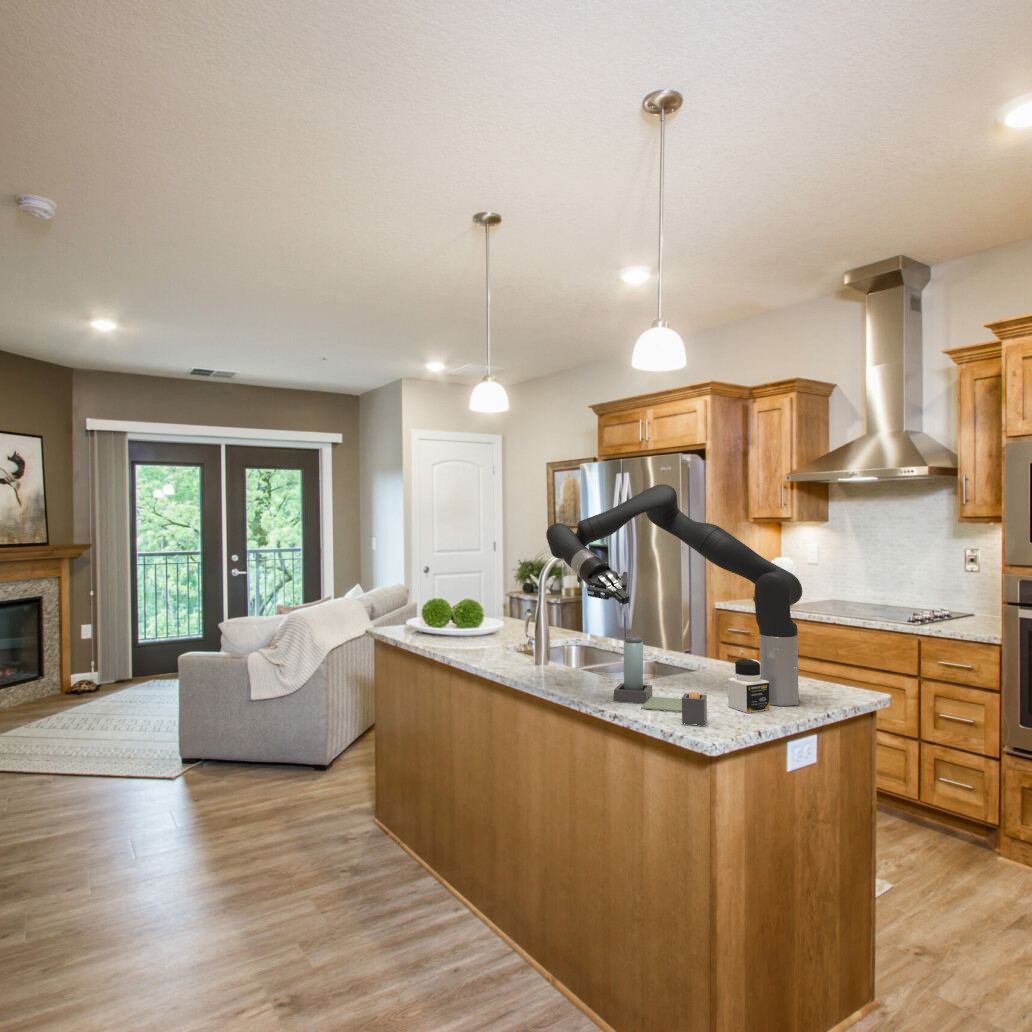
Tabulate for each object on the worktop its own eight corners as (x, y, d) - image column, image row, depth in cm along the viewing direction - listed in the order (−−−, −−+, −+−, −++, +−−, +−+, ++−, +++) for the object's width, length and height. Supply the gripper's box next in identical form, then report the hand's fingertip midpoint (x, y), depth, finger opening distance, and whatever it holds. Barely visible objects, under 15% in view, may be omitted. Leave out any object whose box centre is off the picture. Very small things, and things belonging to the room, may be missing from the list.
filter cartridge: (644, 697, 194) (644, 637, 194) (641, 701, 189) (641, 640, 189) (625, 695, 195) (625, 636, 195) (622, 700, 191) (622, 638, 191)
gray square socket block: (707, 720, 170) (706, 694, 171) (704, 726, 166) (704, 699, 166) (685, 718, 172) (684, 693, 172) (682, 724, 168) (681, 698, 168)
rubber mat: (696, 701, 188) (696, 699, 188) (690, 713, 177) (690, 711, 177) (649, 698, 193) (649, 696, 193) (641, 709, 181) (641, 707, 181)
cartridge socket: (652, 696, 195) (652, 685, 195) (646, 704, 187) (646, 692, 187) (621, 694, 198) (620, 683, 198) (613, 701, 190) (613, 689, 190)
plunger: (700, 716, 170) (700, 692, 170) (699, 719, 167) (698, 694, 168) (690, 715, 171) (689, 691, 171) (688, 718, 168) (688, 694, 168)
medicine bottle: (747, 713, 176) (746, 663, 176) (727, 706, 183) (726, 658, 183) (770, 710, 179) (769, 661, 179) (750, 703, 186) (749, 656, 186)
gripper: (611, 571, 203) (648, 603, 189) (570, 587, 198) (605, 622, 185) (610, 548, 199) (648, 580, 185) (568, 565, 194) (603, 598, 181)
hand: (626, 600), depth 185 cm, fingers closed
